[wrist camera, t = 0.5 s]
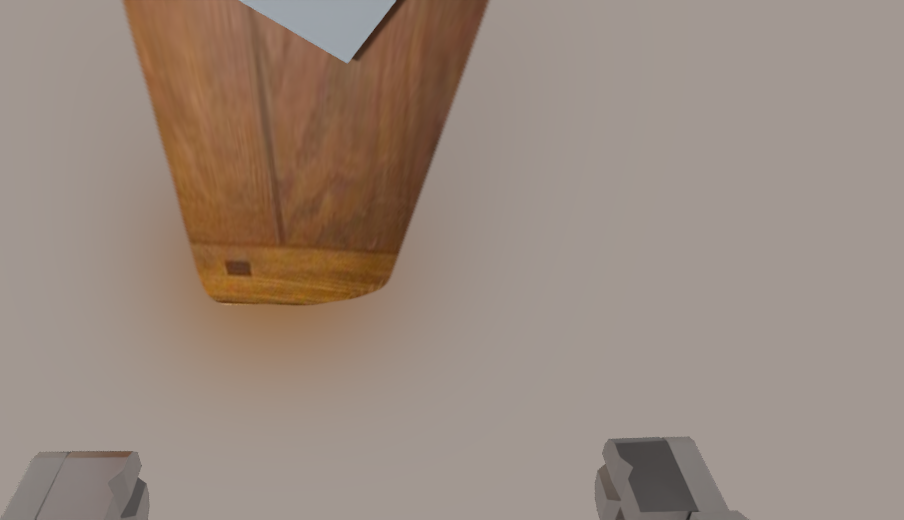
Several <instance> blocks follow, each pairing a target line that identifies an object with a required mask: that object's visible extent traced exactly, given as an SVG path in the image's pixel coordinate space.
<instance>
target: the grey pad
mask: <svg viewBox="0 0 904 520" xmlns="http://www.w3.org/2000/svg"><path fill="white" fill-rule="evenodd" d="M239 1H241V2H243V3H244V4H246V5H248V6H250V7H251V8H253V9H255V10H256V11H258V12H260V13H262V14H263V15H265V16H267V17H268V18H270V19H272V20H274V21H275V22H277V23H279V24H280V25H282V26H284V27H286V28H287V29H289V30H291V31H292V32H294V33H296V34H298V35H299V36H301V37H303V38H304V39H306V40H308V41H310V42H311V43H313V44H315V45H316V46H318V47H320V48H322V49H323V50H325V51H327V52H329V53H330V54H332V55H334V56H335V57H337V58H339V59H341V60H342V61H344V62H346V63H347V64H348V62H349V61H350V60H351V58H352V57H353V56H354V54H355V53H356V52H357V51H358V49H359V48H360V47H361V45H362V44H363V43H364V42H365V40H366V39H367V38H368V36H369V35H370V34H371V32H372V31H373V30H374V29H375V27H376V26H377V25H378V23H379V22H380V21H381V20H382V18H383V17H384V16H385V14H386V13H387V12H388V10H389V9H390V8H391V7H392V5H393V4H394V3H395V1H396V0H239Z"/></svg>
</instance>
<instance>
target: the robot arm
mask: <svg viewBox="0 0 904 520" xmlns="http://www.w3.org/2000/svg"><path fill="white" fill-rule="evenodd" d="M602 454H603V457H604V460H605V463H606V464H605V465H603V466H602V467H601V468H600V469H599V470H598V471H597V476H596V480H595V501H596V507H597V511H598V515H599V518H600V520H749V519H747V518H746V517H745V516H744V515H742V514H741V513H740V512H738V511H729V509H728V507H727V505H726V503H725V501H724V499H723V497H722V495H721V493H720V491H719V489H718V487H717V486H716V483H715V481H714V480H713V478H712V475H711V474H710V471H709V469H708V468H707V466H706V464H705V462H704V460H703V458H702V456H701V454H700V452H699V450H698V448H697V446H696V444H695V442H694V441H693V440H692V439H691V438H690V437H662V438H660V437H649V438H622V439H608V441H607V442H606V443H605V446H604V449H603V453H602ZM141 466H142V465H141V462H140V459H139V456H138V453H137V452H133V451H72V452H39V453H38V454H37V455H36V456H35V457H34V458H33V459H32V460H31V461H30V463H29V465H28V467H27V469H26V471H25V473H24V475H23V477H22V479H21V480H20V482H19V484H18V486H17V488H16V490H15V492H14V494H13V496H12V498H11V499H10V501H9V503H8V505H7V507H6V509H5V511H4V513H3V515H2V516H1V519H0V520H148V513H149V493H148V488H147V484H146V483H145V482H144V481H142V480H141V479H139V478H138V475H139V472H140V469H141Z"/></svg>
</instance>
